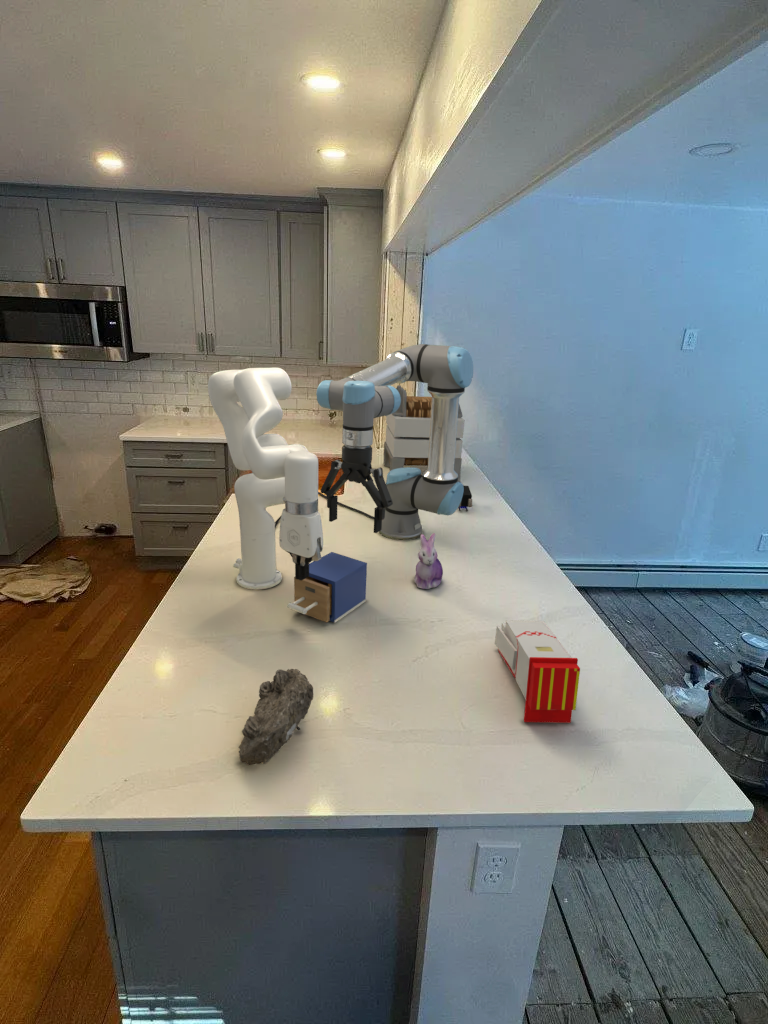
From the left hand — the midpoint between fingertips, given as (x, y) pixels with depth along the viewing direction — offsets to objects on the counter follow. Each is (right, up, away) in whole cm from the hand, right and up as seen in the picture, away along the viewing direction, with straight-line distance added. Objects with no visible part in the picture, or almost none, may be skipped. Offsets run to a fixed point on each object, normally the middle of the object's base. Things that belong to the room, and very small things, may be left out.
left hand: (302, 577), depth 136 cm
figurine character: (+51, +18, +94) cm, 108 cm away
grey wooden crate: (+37, +35, +139) cm, 148 cm away
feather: (-18, +14, +74) cm, 77 cm away
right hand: (+12, +12, +11) cm, 20 cm away
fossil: (0, -25, -30) cm, 39 cm away
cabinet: (+6, -9, +14) cm, 18 cm away
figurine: (+33, -5, +29) cm, 44 cm away
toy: (+51, -21, -13) cm, 57 cm away
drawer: (+3, -10, +9) cm, 14 cm away
